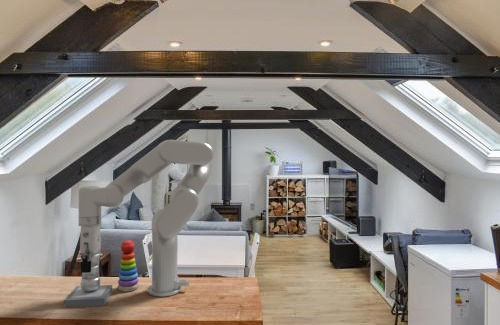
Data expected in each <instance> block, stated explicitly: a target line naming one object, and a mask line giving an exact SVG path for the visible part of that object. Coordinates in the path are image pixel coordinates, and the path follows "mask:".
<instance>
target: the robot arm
mask: <svg viewBox="0 0 500 325" xmlns="http://www.w3.org/2000/svg"><path fill="white" fill-rule="evenodd" d="M213 158H214V150H213V147H212V146H211V145H210V144H208V143H207V142H202V141H190V140H189V141H188V140H178V139H166V140H164V141H161V142H160V143H159V144H158V145H157V146H155V147H153V149H152V150H150V151H149V152H147V153H146V154H145V155H143V156H142V157H141V158H140V159H138V160H137V161H136V162H135V163H133V164H132V165H131V166H130V167H129V168H128V169H127V170H125V171H124V172H122V173H121V174H120V175H118V176H117V177H116V178H115V179H113V180H112V181H111V182H110V183H108V184H107V185H106V186H105V187H99V186H97V185H85V186H82V187H80V188H79V189H78V227H80V236H79V238H80V239H79V240H80V241H79V249H80V254H81V256H80V258H81V259H80V272H81V273H90V272H91V261H90V258H91V253H93V254H95V253H96V252H97V251H98V248H99V246H100V249H101V247H102V243H101V242H102V240H101V239H102V238H101V225H102V207H105V208H107V207H108V208H116V207H118V206H120V205H121V204H122V202H123V201H124V199H125V197H126V196H127V195H129V194H130V193H131V192H132V191H133V190H136V188H138V187H140V186H141V185H143V184H145V183H146V184H147V183H148V182H150V181H151V180H153V179H154V178H155V177H156V176H158V175H159V174H160V173H161V172H162V171H163V170H165V169H166V168H168V167H169V166H170V165H171V164H179V165H189V166H188V170H187V171H186V174H185V175H184V176H183V178H182V179H181V180H180V182H179V183H178V184H177V186H175V188H174V190H172V192H171V193H170V195H169V196H170V197H169V203H168V204H167V205H166V207H163V208H159V209H158V210H156V211H155V213H154V214H153V216H152V218H151V239H152V240H151V245H152V246H151V285H150V286H148V287H147V294H149V295H150V296H154V297H170V296H174V295H176V294H179V293H180V292H181V290H182V287H189V286H190V281H189V280H187V279H181V278H179V275H178V246H179V245H178V235H179V234H180V233H181V232H182V230H183V228H184V227H185V226H186V224H188V222H189V221H190V219H191V217H192V216H193V215H194V214H195V212H196V211H197V209H198V206H199V202H200V201H199V194H200V193H201V191H202V190H203V188H204V187H205V185H206V184H207V182H208V179H209V178H210V176H211V174H210V173H211V161H212V160H213ZM87 255H89V256H87Z"/></svg>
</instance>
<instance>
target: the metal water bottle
mask: <svg viewBox="0 0 500 325" xmlns="http://www.w3.org/2000/svg"><path fill="white" fill-rule="evenodd" d="M101 250H102V249H101V248H100V246H99V248H98V251H97V252H96V253H95V254H93V253H91V258H90V261H91V272H90V273H82V274H81V275H82V276H81V280H80V286H81V289H82V290H83V291H87V292H88V291H94V290H97V289H98V288H99V287H100V285H101V277H100V256H101V253H102V252H101ZM87 256H89V255H87Z"/></svg>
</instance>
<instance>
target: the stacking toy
mask: <svg viewBox="0 0 500 325" xmlns="http://www.w3.org/2000/svg"><path fill="white" fill-rule="evenodd" d="M135 247H136V246H135V243H134V242H133V241H132V240H129V239H128V240H125V241H122V243H121V246H120V249H121V252H122V253H121V255H120V257H121V259H120V265H119V268H120V269H119V276H118V280H117V283H118V284H117V289H118V290H119V291H120V292H132V291H135V290H136V289H138V288H139V287H140V283H139V278H138V276H139V274H138V269H137V264H136V258H135V256H136V254H135V252H133V251H134V250H135Z"/></svg>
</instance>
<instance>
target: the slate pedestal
mask: <svg viewBox="0 0 500 325" xmlns="http://www.w3.org/2000/svg"><path fill="white" fill-rule="evenodd" d="M112 293H113V284H105V285H104V284H103V285H102V284H100V287H99V288H98V289H97V290H94V291H88V292H87V291H83V290H82V289H81V285H77V286H75V287H74V288H73V290H72V291H71V292H70V293H69V294H68V295H67V297H66V298H65V299H64V308H78V307H79V308H80V307H81V308H82V307H99V306H106V304H107V302H108V300H109V298H110V296H111V295H112Z"/></svg>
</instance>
